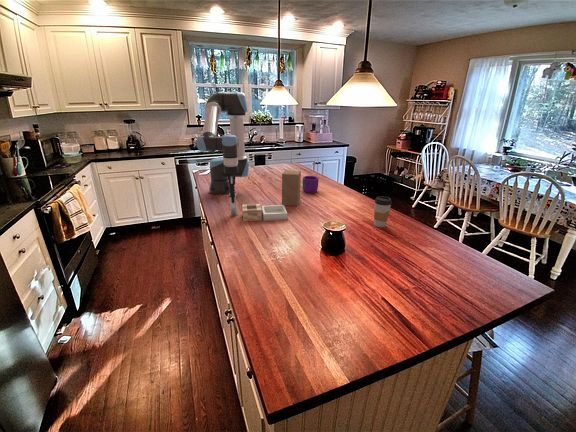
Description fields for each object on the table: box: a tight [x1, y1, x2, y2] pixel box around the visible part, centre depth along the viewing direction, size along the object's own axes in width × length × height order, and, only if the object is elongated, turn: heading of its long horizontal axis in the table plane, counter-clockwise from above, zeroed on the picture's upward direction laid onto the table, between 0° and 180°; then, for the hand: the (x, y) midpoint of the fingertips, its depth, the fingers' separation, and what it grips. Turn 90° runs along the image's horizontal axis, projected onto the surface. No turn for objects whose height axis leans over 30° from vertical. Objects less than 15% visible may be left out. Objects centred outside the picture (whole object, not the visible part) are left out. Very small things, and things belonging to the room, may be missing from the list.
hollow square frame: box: [241, 203, 263, 222], centre depth 161 cm, size 10×10×6 cm
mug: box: [302, 175, 319, 194], centre depth 210 cm, size 17×11×10 cm, turn 17°
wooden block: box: [281, 169, 302, 207], centre depth 181 cm, size 10×10×20 cm
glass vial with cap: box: [228, 190, 238, 217], centre depth 162 cm, size 4×4×14 cm
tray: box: [261, 204, 288, 222], centre depth 164 cm, size 13×13×4 cm
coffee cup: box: [373, 195, 392, 228], centre depth 152 cm, size 8×8×15 cm
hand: (233, 206), depth 163 cm, fingers closed on glass vial with cap, 3 cm apart
